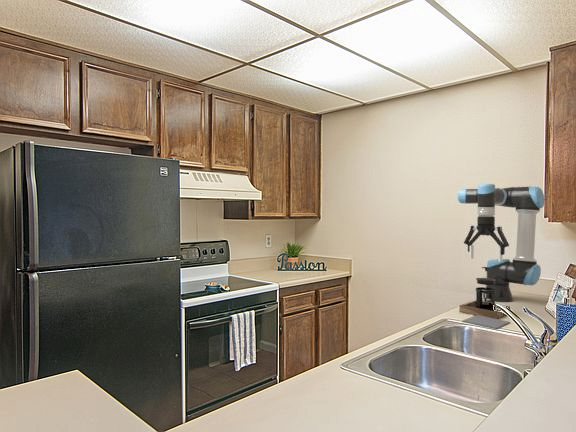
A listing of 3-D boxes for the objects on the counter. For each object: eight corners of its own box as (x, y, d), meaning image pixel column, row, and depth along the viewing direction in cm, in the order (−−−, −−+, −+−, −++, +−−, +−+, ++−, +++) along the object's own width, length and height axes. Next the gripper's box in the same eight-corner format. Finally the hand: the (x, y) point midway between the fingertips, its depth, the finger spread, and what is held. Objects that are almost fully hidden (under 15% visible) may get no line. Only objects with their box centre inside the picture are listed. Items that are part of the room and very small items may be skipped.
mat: (477, 316, 199) (477, 315, 199) (510, 323, 188) (510, 321, 188) (462, 321, 189) (462, 320, 189) (496, 329, 178) (496, 327, 178)
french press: (482, 309, 213) (483, 265, 212) (500, 313, 205) (501, 267, 205) (469, 312, 207) (469, 266, 206) (486, 316, 199) (487, 269, 198)
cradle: (475, 306, 218) (475, 300, 218) (510, 313, 205) (510, 306, 205) (459, 312, 207) (459, 305, 207) (495, 319, 194) (495, 312, 194)
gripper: (457, 215, 204) (456, 258, 205) (510, 216, 186) (510, 263, 186) (464, 215, 209) (463, 256, 210) (517, 216, 191) (516, 261, 191)
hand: (485, 260), depth 198 cm, fingers open, 13 cm apart
